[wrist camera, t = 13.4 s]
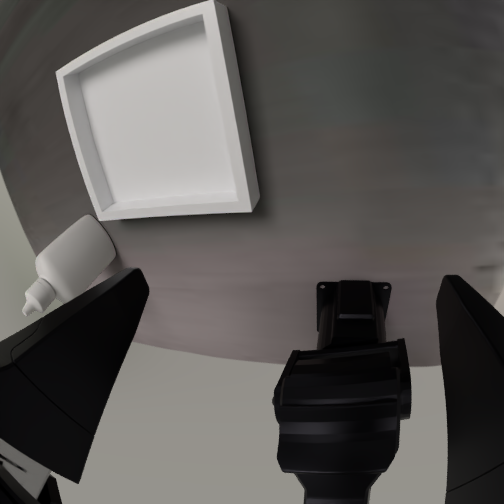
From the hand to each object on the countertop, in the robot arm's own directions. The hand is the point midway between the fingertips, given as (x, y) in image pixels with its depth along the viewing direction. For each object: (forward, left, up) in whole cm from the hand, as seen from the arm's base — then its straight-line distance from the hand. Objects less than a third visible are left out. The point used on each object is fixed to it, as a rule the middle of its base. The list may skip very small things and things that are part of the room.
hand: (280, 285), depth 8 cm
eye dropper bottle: (-6, +22, -13) cm, 26 cm away
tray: (+4, +11, -13) cm, 17 cm away
